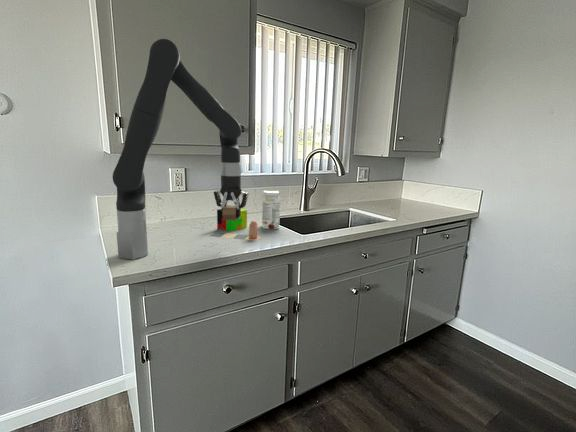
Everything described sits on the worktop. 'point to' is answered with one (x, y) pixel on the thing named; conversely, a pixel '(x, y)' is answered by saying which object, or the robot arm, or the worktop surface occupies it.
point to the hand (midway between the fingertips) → (231, 217)
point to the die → (229, 213)
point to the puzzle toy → (232, 225)
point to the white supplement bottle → (271, 209)
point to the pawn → (253, 230)
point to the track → (228, 235)
